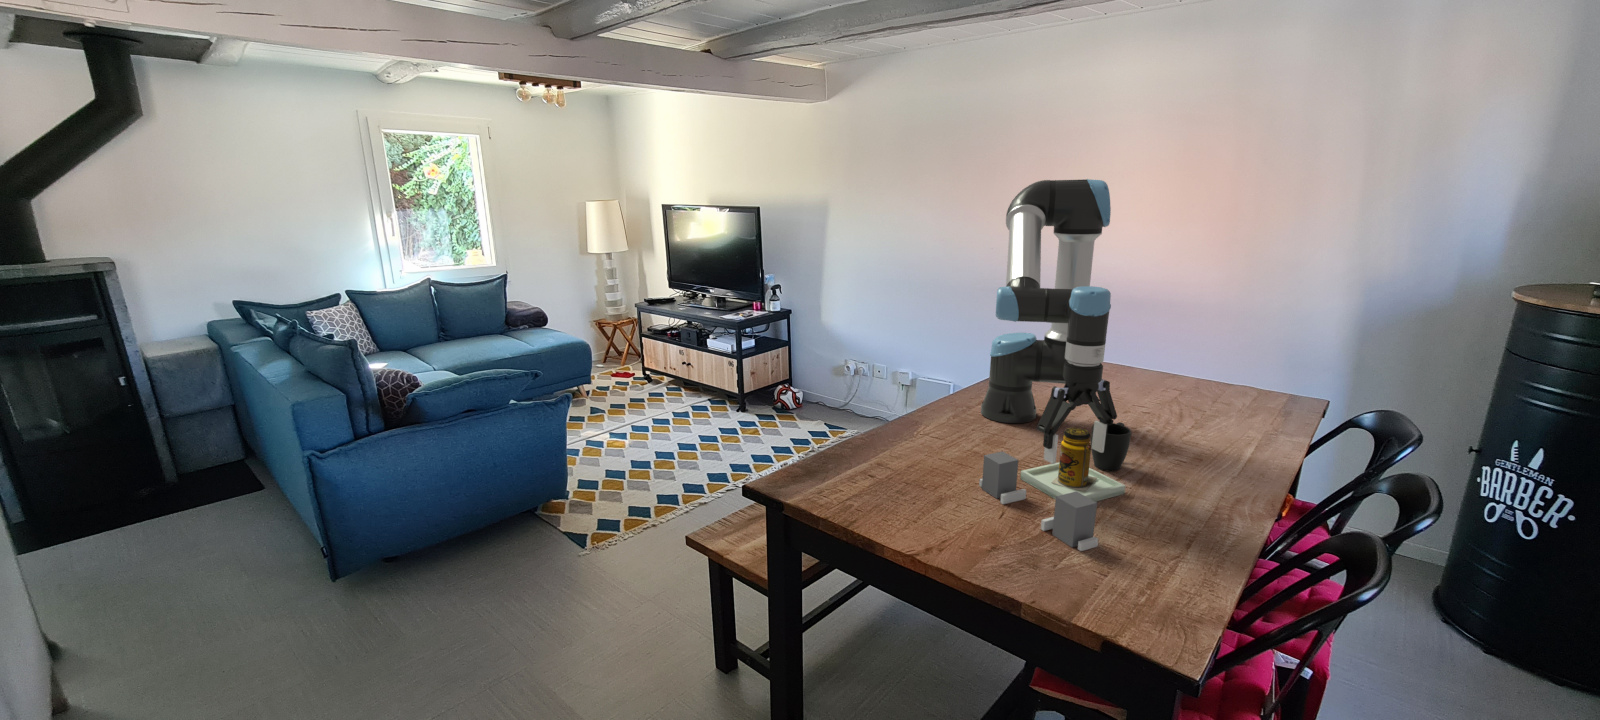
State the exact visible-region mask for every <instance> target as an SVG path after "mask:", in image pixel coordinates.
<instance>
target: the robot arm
mask: <svg viewBox="0 0 1600 720" xmlns="http://www.w3.org/2000/svg"><path fill="white" fill-rule="evenodd" d="M1111 208H1112V207H1111V194H1110V188H1109V186H1108V183H1107V182H1106V181H1104V180H1102V179H1089V178H1087V179H1086V178H1085V179H1055V180H1054V179H1053V180H1051V179H1044V180H1038V181H1035V182H1033V183H1031V184H1029V185H1027V186H1026V187H1024V188H1023V189H1022V190H1020V192H1018V193H1017V195H1015V196H1014V198H1013V199H1012V201H1011V202H1010V204H1009V205H1008V208H1007V210H1006V214H1005V215H1006V216H1005V225H1006V228H1007V230H1008V247H1007V248H1008V249H1007V262H1006V263H1007V264H1006V279H1005V282H1006V283H1005V286H1001V287H998V289H997V290H996V300H995V301H996V302H995V317H996V318H997V319H998V320H1000V321H1008V322H1015V323H1016V322H1027V323H1028V322H1030V323H1048V324H1049V323H1051V325H1050V326H1051V327H1050V329H1049V330H1047V331H1046V332H1045V333H1044V339H1037V336H1036V335H1035V334H1034V333H1027V332H1012V333H1006V334H1005V333H1004V334H1001V335H999V336H996V337H995V338H994V339H993V340H992V342H991V347H990V348H991V350H990V353H989V356H990V365H989V376H988V377H989V379H988V388H987V391H986V393H985V396H984V399H983V401H982V403H981V405H980V415H982V416H983V417H984V418H986V419H989V420H990V421H991V420H992V421H994V422H999V423H1006V424H1007V423H1008V424H1024V423H1030V422H1032V421H1034V420H1036V418H1037V406H1036V403H1035V399H1034V395H1033V391H1032V389H1033V382H1036V383H1037V382H1038V383H1049V384H1050V383H1051V384H1061V385H1063V384H1064V386H1063V387H1059V386H1055V385H1054V386H1053V387H1052V389H1051V392H1050V397H1049V399H1048V401H1047V403H1046V406H1045V408H1044V410H1043V411H1042V414H1041V416H1040V419H1039V421H1038V423H1037V425H1036V428H1035V429H1036V430H1037V431H1038V432H1041V433H1043V443H1042V444H1043V448H1044V450H1043V451H1044V452H1043V461H1046V462H1048V463H1049V464H1056V463H1057V455H1058V454H1057V453H1058V441H1059V434H1057V432H1058V431H1059V429H1060V428H1061V426H1062V425H1063V423H1064V422H1065V420H1066V419H1067V417H1068V416H1069V414H1070V413H1071V412H1072V411H1074V410H1075V409H1076V408H1077V407H1081V406H1083V405H1086V406H1087V405H1088V406H1089V408H1090V409H1091V411H1092V412H1093V414H1094V415H1095V417H1096V418H1097V420H1094V422H1093V425H1094V430H1093V439H1092V449H1094V450H1096V451H1098V452H1100V453H1103V452H1104V445H1105V437H1106V435H1107V429H1108V424H1110V425H1112V424H1113V423H1114V420H1116V419H1117V417H1118V414H1117V411H1116V407H1115V405H1114V400H1113V398H1112V394H1111V388H1110V386H1111V382H1110V381H1109V380H1106V379H1103V370H1104V365H1103V363H1104V361H1105V350H1106V349H1105V348H1106V343H1107V342H1106V341H1107V333H1108V325H1109V316H1110V310H1111V308H1112V304H1111V297H1112V295H1111V292H1110V290H1109V289H1108V288H1106V287H1105V288H1104V287H1102V286H1091V279H1092V278H1091V277H1092V267H1093V260H1094V259H1093V257H1094V250H1095V241H1096V239H1098V238H1099V237H1100V236H1101V235H1102V234H1103V228H1106V227H1108V226H1110V224H1111V223H1110V222H1111V213H1112V212H1111V210H1112V209H1111ZM1044 227H1053V235H1054V236H1055V237H1056V238H1057V239H1058V246H1057V247H1058V248H1057V249H1058V250H1057V257H1056V258H1057V260H1056V268H1055V269H1056V272H1055V279H1054V280H1055V281H1054V282H1055V283H1054V288H1048V287H1047V288H1046V287H1041V271H1042V270H1041V264H1042V263H1041V260H1042V254H1041V253H1042V251H1041V250H1042V230H1043V228H1044Z"/></svg>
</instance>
